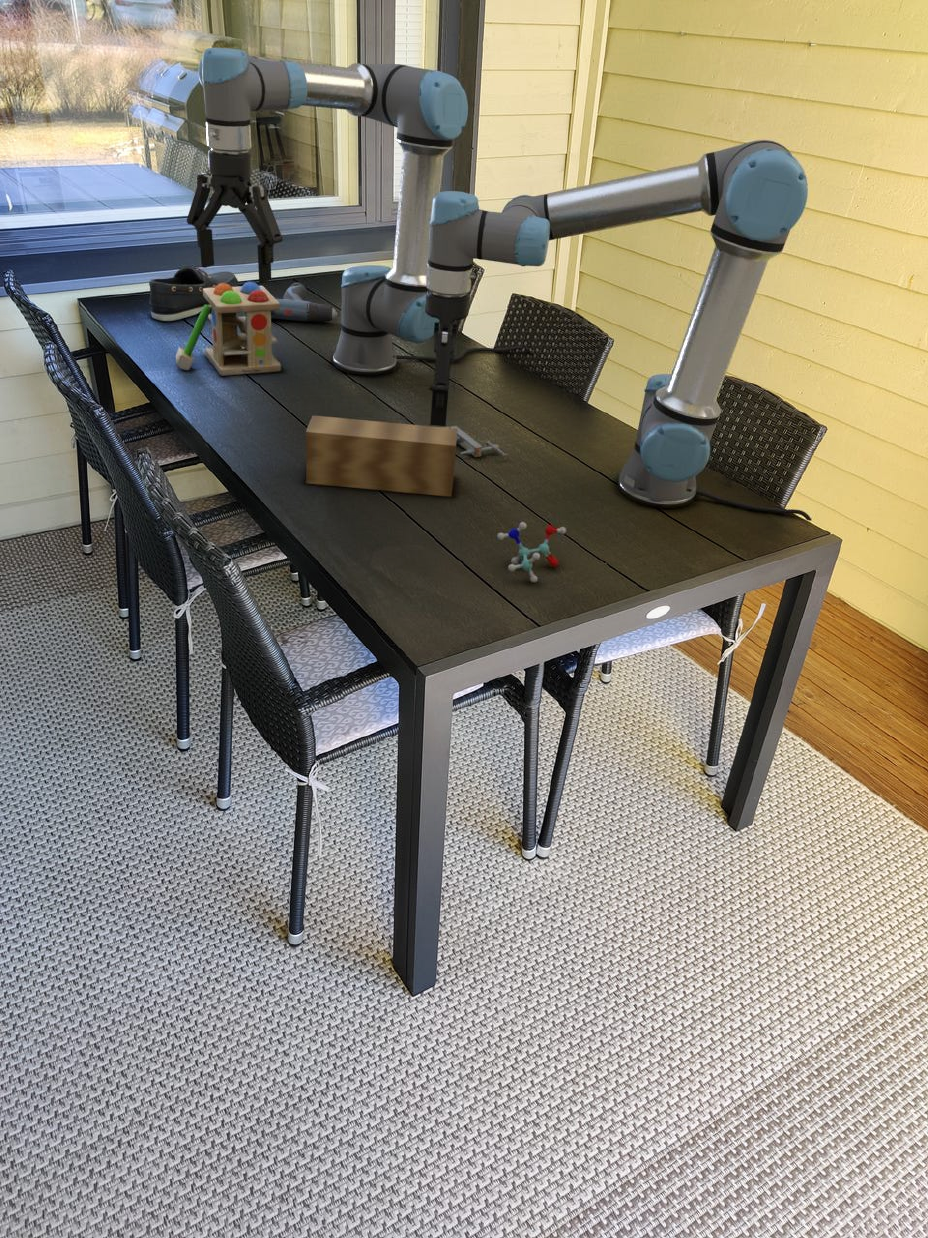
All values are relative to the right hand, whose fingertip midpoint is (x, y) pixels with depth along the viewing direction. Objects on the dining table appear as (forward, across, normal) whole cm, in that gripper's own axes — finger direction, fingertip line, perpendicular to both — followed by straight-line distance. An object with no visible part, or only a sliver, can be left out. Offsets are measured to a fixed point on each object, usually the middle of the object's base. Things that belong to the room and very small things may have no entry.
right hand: (439, 410), depth 178 cm
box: (+16, +2, +10) cm, 19 cm away
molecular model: (+16, -26, -17) cm, 35 cm away
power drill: (+16, +99, +39) cm, 108 cm away
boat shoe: (+16, +97, +68) cm, 120 cm away
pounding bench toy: (+16, +55, +51) cm, 77 cm away
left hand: (-15, +20, +40) cm, 47 cm away
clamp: (+16, +19, -7) cm, 26 cm away
